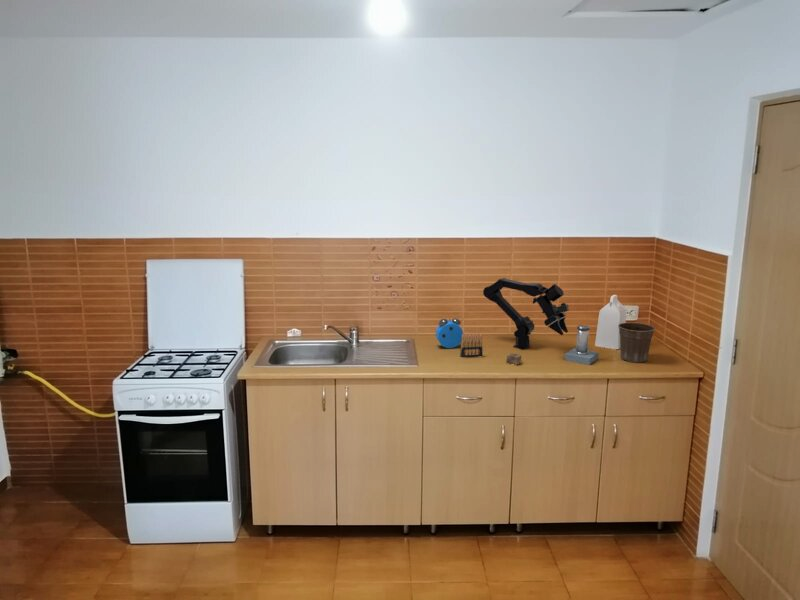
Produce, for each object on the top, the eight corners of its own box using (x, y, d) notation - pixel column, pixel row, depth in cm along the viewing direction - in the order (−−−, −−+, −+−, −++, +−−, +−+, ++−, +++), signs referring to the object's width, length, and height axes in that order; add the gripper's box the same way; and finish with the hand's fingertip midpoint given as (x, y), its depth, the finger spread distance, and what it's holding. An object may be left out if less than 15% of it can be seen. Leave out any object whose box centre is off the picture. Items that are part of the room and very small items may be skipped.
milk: (602, 340, 319) (606, 292, 313) (624, 344, 312) (629, 295, 306) (594, 345, 309) (598, 296, 304) (617, 349, 303) (622, 299, 297)
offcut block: (506, 363, 282) (506, 355, 281) (511, 360, 286) (511, 352, 285) (516, 365, 279) (516, 357, 278) (520, 362, 283) (521, 354, 282)
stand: (564, 359, 287) (565, 353, 287) (574, 353, 297) (574, 347, 296) (589, 364, 280) (589, 358, 279) (598, 358, 289) (598, 352, 289)
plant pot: (610, 353, 297) (613, 321, 293) (643, 353, 297) (646, 322, 293) (622, 364, 281) (625, 331, 277) (657, 364, 281) (660, 331, 277)
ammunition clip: (481, 355, 294) (482, 331, 291) (482, 356, 292) (483, 332, 289) (460, 356, 292) (460, 332, 289) (461, 357, 290) (461, 333, 288)
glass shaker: (574, 354, 286) (576, 327, 283) (575, 350, 291) (577, 324, 288) (587, 355, 284) (589, 328, 281) (588, 351, 289) (590, 325, 286)
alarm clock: (460, 344, 311) (460, 316, 308) (463, 348, 305) (464, 319, 302) (435, 345, 309) (435, 317, 305) (438, 349, 303) (438, 320, 299)
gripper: (555, 299, 283) (574, 327, 279) (565, 296, 299) (583, 322, 296) (536, 311, 287) (554, 339, 284) (546, 308, 304) (564, 334, 301)
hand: (564, 333), depth 291 cm, fingers open, 9 cm apart
